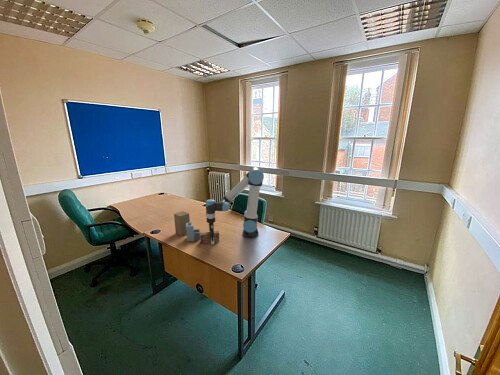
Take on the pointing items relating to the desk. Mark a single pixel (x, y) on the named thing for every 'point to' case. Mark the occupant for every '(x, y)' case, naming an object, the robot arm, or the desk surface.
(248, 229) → the robot arm
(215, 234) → the rail
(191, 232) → the gray block with ears
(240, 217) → the desk surface
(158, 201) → the desk surface
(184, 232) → the wooden block
